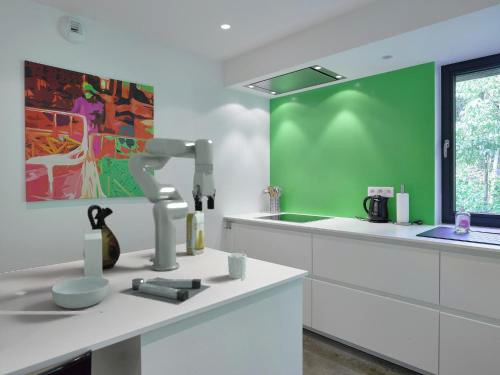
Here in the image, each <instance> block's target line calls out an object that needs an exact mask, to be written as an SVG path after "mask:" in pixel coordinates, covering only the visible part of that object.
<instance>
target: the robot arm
mask: <svg viewBox="0 0 500 375" xmlns="http://www.w3.org/2000/svg"><path fill="white" fill-rule="evenodd" d="M144 148H145V151H146V152H136V153H132V154H131V155H130V156H129V158H128V161H127V168H128V171H129V173H130V175H131V177H132V178H133V180H134V181H135V182H136V183H137V185H138V186H139V188H140V189H141V191H142V193H143V194H144V196H145V198H146V199H147V201H148V202H150V203H151V204H154V205H153V206H152V216H153V224H154V256H151V257H150V258H149V260H148V261H149V262H151V263H152V265H151V269H152V270H153V271H158V272H164V271H165V272H167V271H168V272H169V271H173V270H177V269H178V268H179V267H180V264H179V263H178V262H177V247H176V246H177V245H176V244H177V239H176V238H177V235H176V234H177V233H176V232H177V231H176V227H175V224H174V223H173V221H174V220H175V221H176V220H182V219H184V218H185V219H186V216H187V215H188V213H190V212H189V205H188V203H187V201H186V200H185V198H184V196H183V195H182V194H181V193H180V191H179V189H178V188H177V187H176V186H175V185H173V184H170V183H159V181H158V180H157V178H156V177H155V175H154V174H152V173H151V172H150V171H159V170H162V169H163V168H164V167H165V166H166V165H167V163H168V162H169V161H170V160H171V158H172V157H173V158H179V159H180V158H181V159H182V158H183V159H194V174H193V182H192V183H193V184H192V185H193V186H192V188H193V189H192V190H191V193H192V198H193V201H194V212H195V211H199V212H203V201H202V199H203V197H207V200H206V206H207V207H206V209H207V210H215V198H216V197H215V196H216V192H217V189H216V188H215V179H214V150H213V148H214V146H213V141H212V140H210V139H206V138H205V139H204V138H199V139H196V140H188V139H178V138H177V139H175V138H167V137H166V138H165V137H161V138H160V137H151V138H149V139H147V141H146V142H145V144H144Z"/></svg>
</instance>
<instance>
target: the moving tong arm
mask: <svg viewBox="0 0 500 375" xmlns="http://www.w3.org/2000/svg"><path fill="white" fill-rule="evenodd" d="M144 282H146V284H152V285H157V286H163V287H168V288H200V287H201V285H202V279H201V278H193V279H189V278H188V279H183V278H182V279H178V278H177V279H176V278H175V279H172V278H171V279H170V278H164V279H154V278H152V279H151V278H150V279H149V278H148V279H147V280H146V281H145V280H144V278H140V277H139V278H138V277H137V278H133V279H132V280H131V285H132V286H131V288H132V289H134V290H139V284H142V283H144Z"/></svg>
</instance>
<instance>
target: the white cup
mask: <svg viewBox="0 0 500 375" xmlns="http://www.w3.org/2000/svg"><path fill="white" fill-rule="evenodd" d="M247 257H248V256H247V254H246V253H242V252H233V253H229V254H227V263H228V264H227V265H228V266H227V267H228V276H229V279H230V278H231V279H234V280H235V279H236V280H237V279H239V280H240V281H244V280H245V279H246V272H247Z"/></svg>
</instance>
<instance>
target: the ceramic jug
mask: <svg viewBox="0 0 500 375" xmlns="http://www.w3.org/2000/svg"><path fill="white" fill-rule="evenodd" d="M95 210H96V211H97V212H96V213H95V215H93V212H94V211H95ZM113 213H114V212H113V210H112V208H110V207H108V206H107V207H105V208H104V207H101V206H100V205H97V204H92V205H90V206H89V207H88V208H87V217H88V220H89V223H90V226H91V230H97V229H101V235H102V271H106V270H111V269H113V268H114V267H115V266H116V265H117V262H118V261H119V259H120V256H121V246H120V243H119V241H118V239H117V237H116V235H115V234H114V233H113V231H112V230H111V229H110V228H109V226H108V225H107V223H106V220H105V219H106V218H107V217H109V216H110V215H112V214H113ZM95 220H96V221H95ZM83 257H84V252H83Z"/></svg>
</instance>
